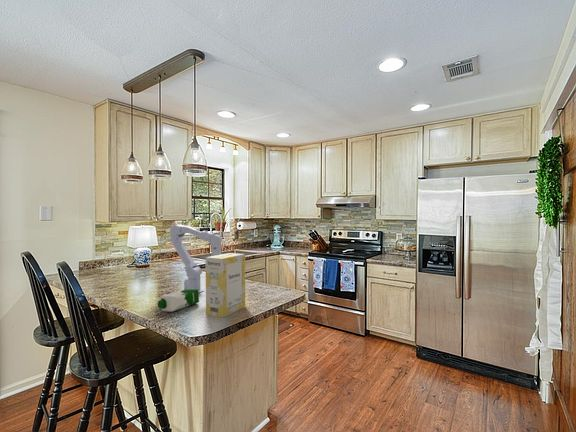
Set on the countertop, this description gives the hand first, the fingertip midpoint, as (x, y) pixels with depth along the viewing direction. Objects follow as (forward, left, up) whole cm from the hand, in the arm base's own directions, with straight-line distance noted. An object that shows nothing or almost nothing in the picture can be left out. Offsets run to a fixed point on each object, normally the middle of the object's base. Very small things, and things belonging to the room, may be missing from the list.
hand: (217, 276), depth 184 cm
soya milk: (-1, -22, -6) cm, 23 cm away
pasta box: (+23, -27, -11) cm, 37 cm away
